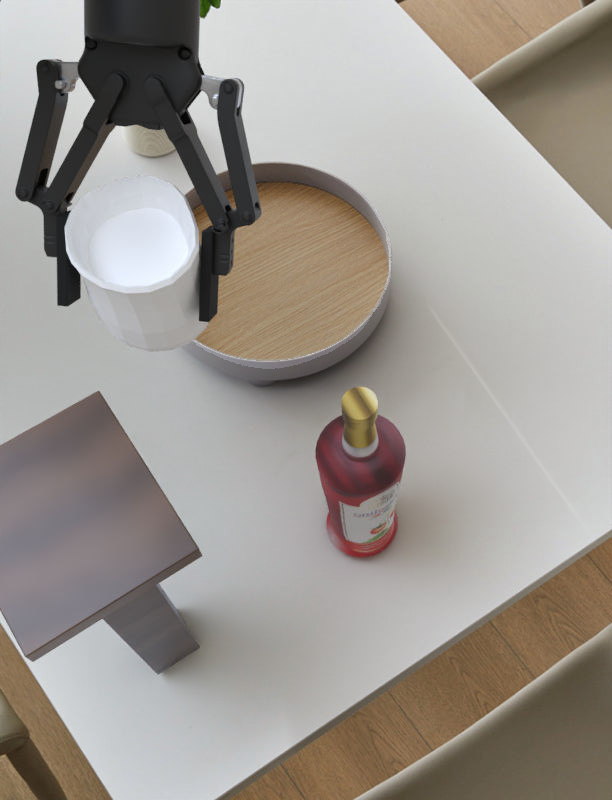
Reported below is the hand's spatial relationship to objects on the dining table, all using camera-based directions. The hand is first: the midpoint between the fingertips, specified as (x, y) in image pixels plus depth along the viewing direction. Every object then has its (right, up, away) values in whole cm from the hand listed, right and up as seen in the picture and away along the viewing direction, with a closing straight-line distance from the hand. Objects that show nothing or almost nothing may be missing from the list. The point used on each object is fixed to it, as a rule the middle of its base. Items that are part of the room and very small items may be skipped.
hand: (138, 309), depth 75 cm
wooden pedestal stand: (-2, -29, +19) cm, 35 cm away
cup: (0, +1, +5) cm, 5 cm away
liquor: (+16, -19, +24) cm, 35 cm away
